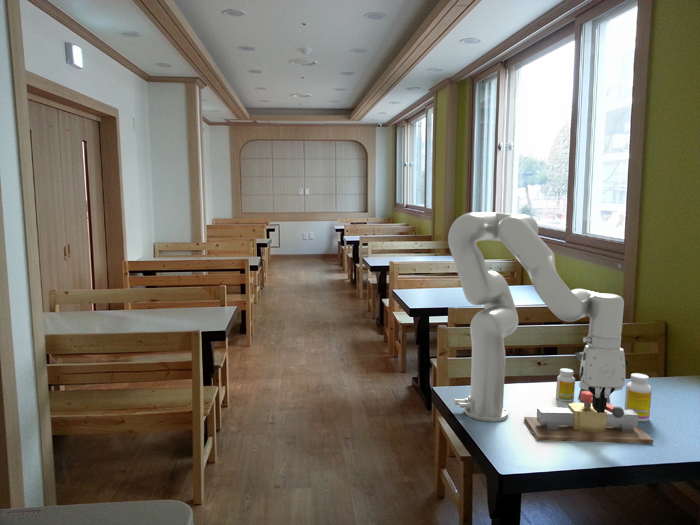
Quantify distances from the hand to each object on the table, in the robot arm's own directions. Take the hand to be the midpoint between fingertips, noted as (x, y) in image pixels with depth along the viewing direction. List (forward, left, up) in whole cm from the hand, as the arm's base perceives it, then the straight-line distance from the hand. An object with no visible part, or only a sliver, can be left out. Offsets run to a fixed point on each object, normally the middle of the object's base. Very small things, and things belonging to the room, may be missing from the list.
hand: (598, 410), depth 143 cm
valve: (0, +8, -9) cm, 12 cm away
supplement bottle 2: (+19, +19, -9) cm, 28 cm away
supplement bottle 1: (+3, +33, -9) cm, 34 cm away
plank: (0, +8, -9) cm, 12 cm away
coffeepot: (+13, +32, -9) cm, 36 cm away
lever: (+2, +3, -2) cm, 4 cm away
